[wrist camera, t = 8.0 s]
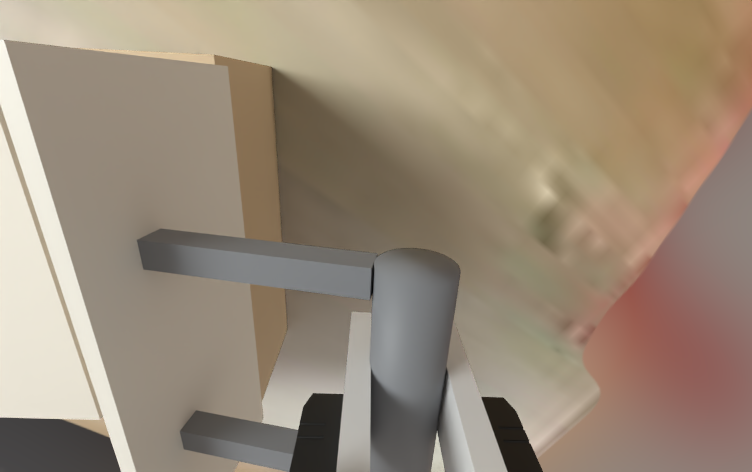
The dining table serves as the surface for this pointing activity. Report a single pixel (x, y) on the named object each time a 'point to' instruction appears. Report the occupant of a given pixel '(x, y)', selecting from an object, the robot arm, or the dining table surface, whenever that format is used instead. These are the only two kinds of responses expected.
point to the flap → (197, 266)
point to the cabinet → (42, 289)
